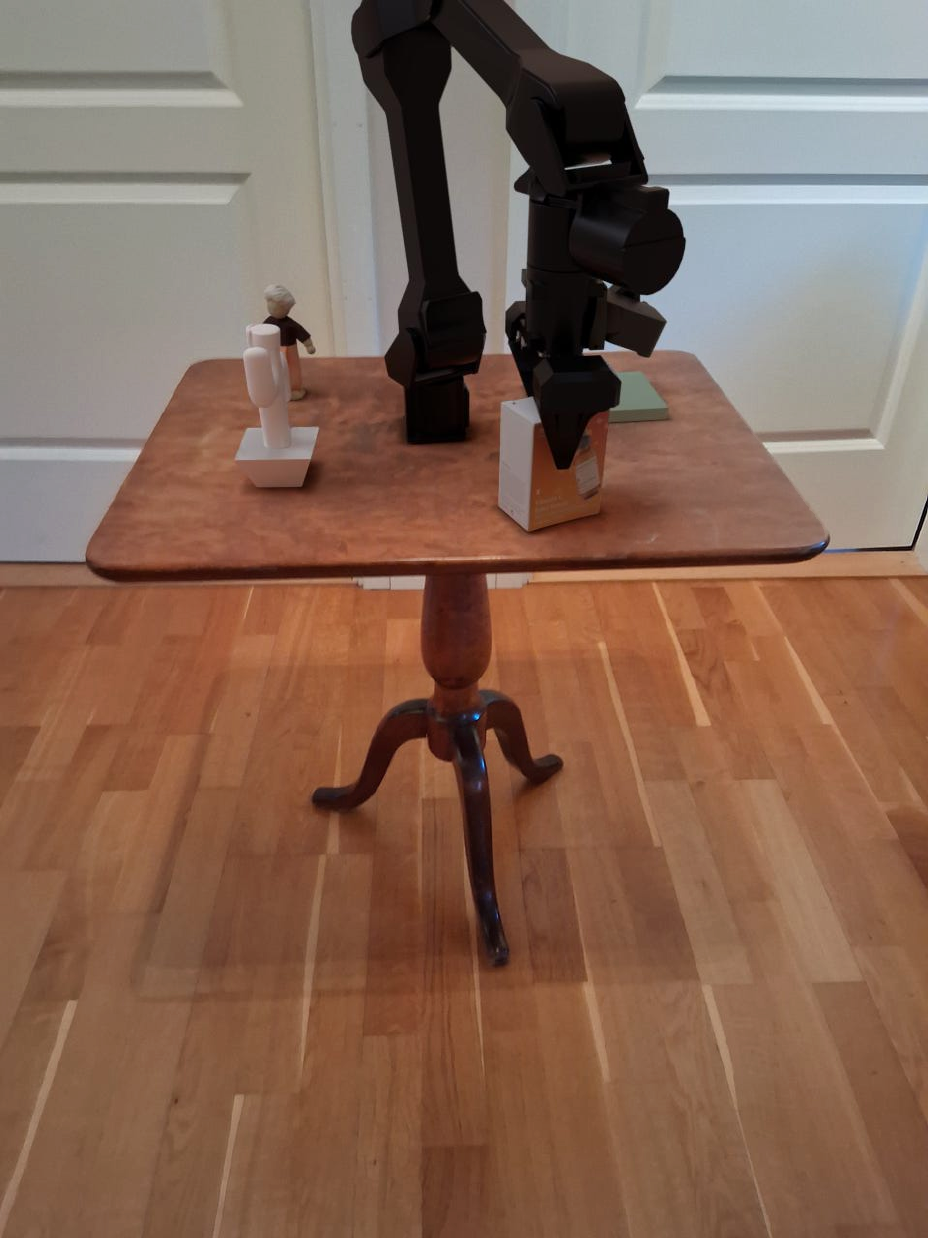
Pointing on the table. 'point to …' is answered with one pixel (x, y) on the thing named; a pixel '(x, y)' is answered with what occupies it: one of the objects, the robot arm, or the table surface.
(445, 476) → the table surface
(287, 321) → the grandmother figurine
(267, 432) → the figurine
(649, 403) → the scale
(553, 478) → the small box
